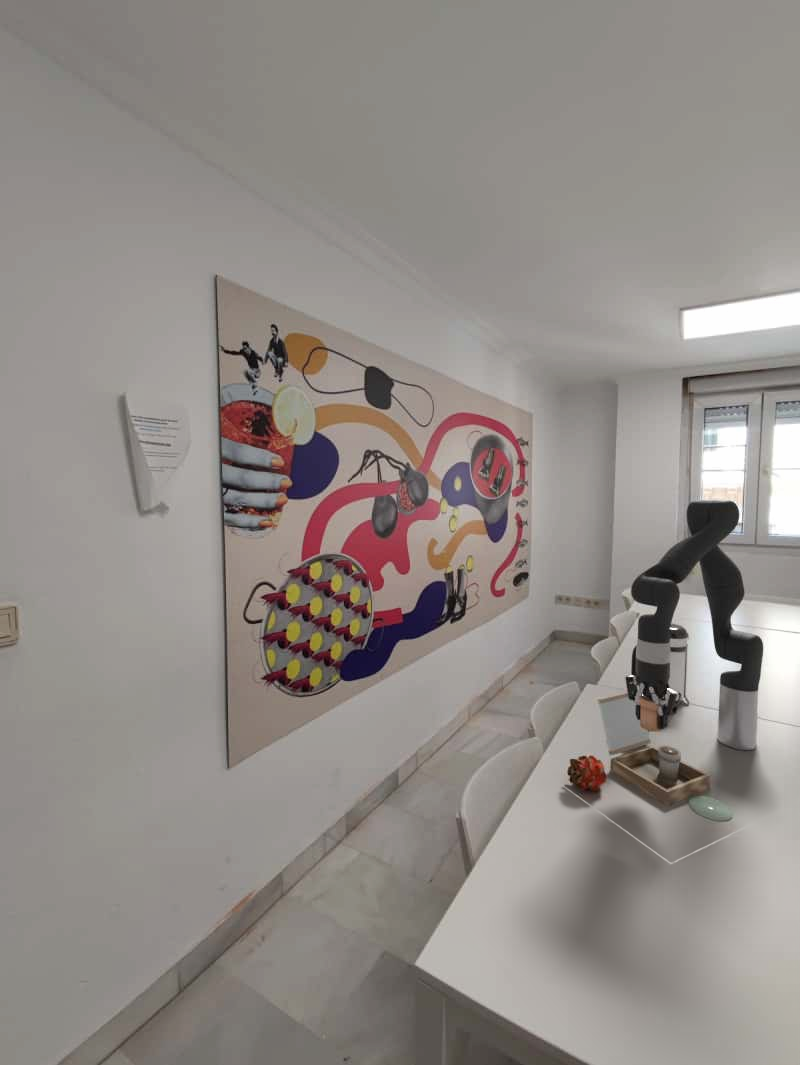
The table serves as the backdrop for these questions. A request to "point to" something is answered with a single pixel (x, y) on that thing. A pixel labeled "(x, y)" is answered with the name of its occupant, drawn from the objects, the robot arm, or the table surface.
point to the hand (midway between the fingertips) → (650, 723)
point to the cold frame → (645, 776)
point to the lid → (621, 724)
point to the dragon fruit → (587, 773)
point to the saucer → (710, 808)
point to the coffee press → (674, 660)
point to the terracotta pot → (649, 714)
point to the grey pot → (669, 762)
